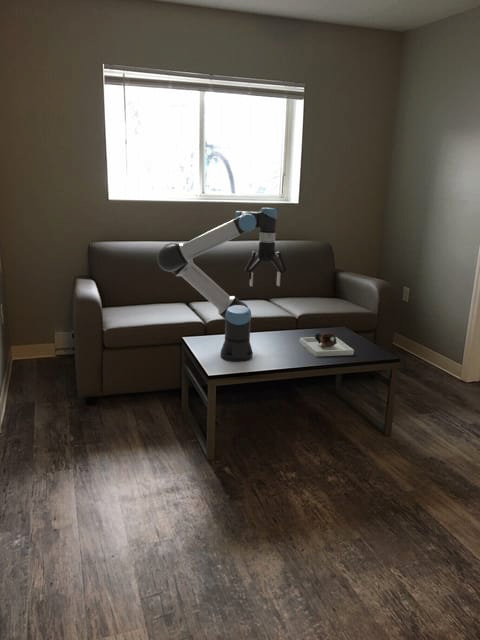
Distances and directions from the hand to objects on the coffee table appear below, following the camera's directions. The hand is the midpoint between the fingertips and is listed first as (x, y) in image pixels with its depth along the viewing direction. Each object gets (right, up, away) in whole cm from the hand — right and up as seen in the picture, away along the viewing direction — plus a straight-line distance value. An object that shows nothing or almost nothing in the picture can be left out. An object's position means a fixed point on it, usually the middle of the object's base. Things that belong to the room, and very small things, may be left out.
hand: (264, 285), depth 246 cm
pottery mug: (+31, -30, +14) cm, 45 cm away
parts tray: (+32, -31, +13) cm, 46 cm away
